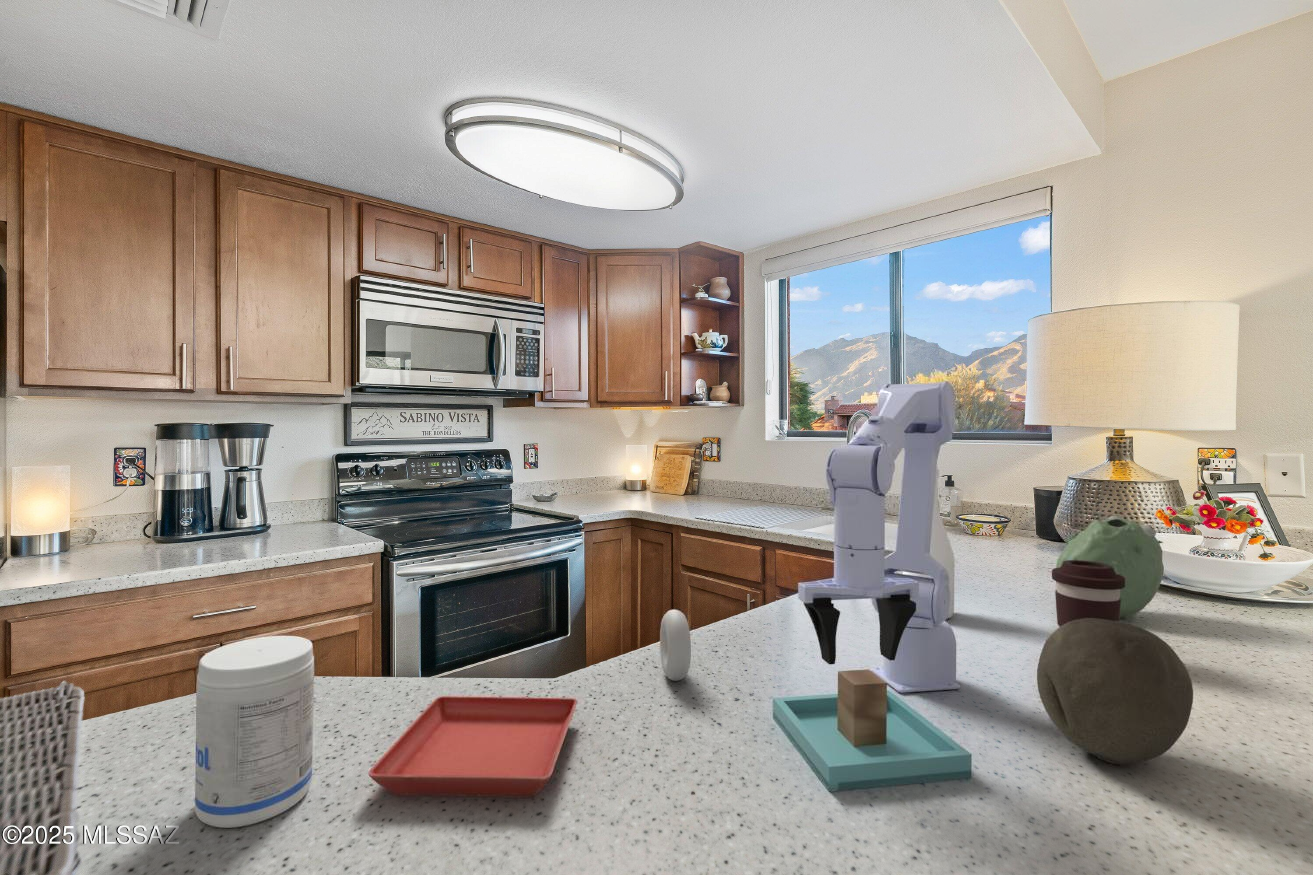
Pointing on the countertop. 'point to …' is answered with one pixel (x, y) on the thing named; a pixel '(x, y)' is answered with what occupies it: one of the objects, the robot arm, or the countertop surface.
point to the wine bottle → (941, 548)
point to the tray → (870, 746)
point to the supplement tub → (253, 729)
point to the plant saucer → (478, 747)
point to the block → (862, 707)
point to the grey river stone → (1114, 689)
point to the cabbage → (1122, 557)
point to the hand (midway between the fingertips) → (858, 659)
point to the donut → (675, 645)
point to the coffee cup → (1087, 591)
